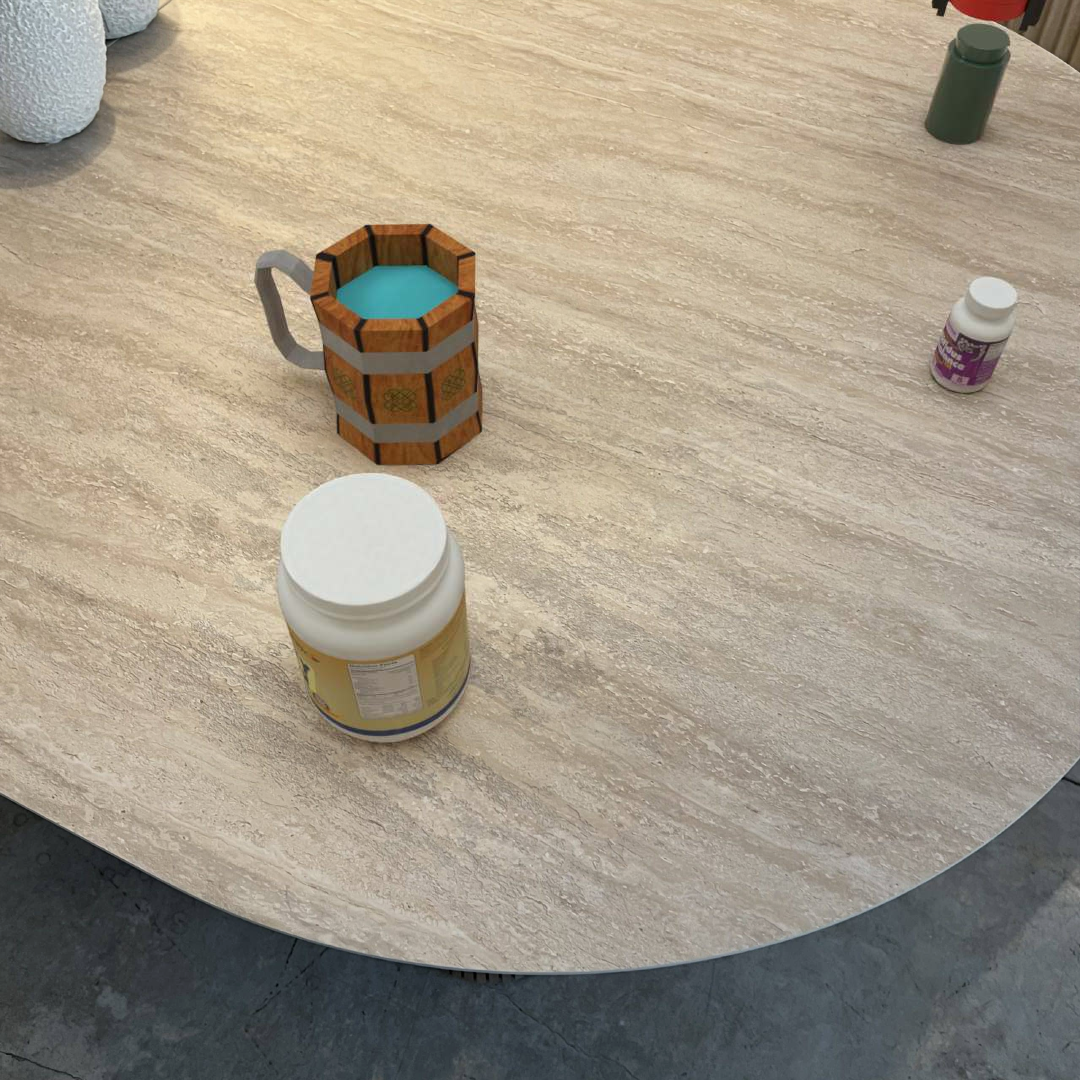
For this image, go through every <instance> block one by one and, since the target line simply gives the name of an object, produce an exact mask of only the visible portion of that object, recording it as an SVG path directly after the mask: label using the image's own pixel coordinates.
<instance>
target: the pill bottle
mask: <svg viewBox="0 0 1080 1080" xmlns="http://www.w3.org/2000/svg"><path fill="white" fill-rule="evenodd" d="M1017 301H1018V292H1017V291H1016V289H1015V287H1014V286H1013V285H1012V284H1011V283H1009V282H1007V281H1006V280H1003V279H1002V278H998V277H995V276H982V277H978V278H976V279H973V281H972V282H971V283H970V284H969V286H968V288H967V290H966V293H965V295H964V296H962V297H960V298H959V299H958V300H957V301H956V302H955V303H954V304H953V306H952V308H951V309H950V312H949V315H948V317H947V319H946V322H945V325H944V327H943V330H942V333H941V335H940V337H939V340H938V343H937V345H936V347H935V349H934V354H933V355H932V358H931V361H930V372H931V374H932V376H933V378H934V379H935V381H936V382H937V383H938V384H940V385H941V386H942V387H943V388H945V389H947V390H949V391H952V392H955V393H961V394H968V393H974V392H977V391H980V390H982V389H984V388H985V387H986V386H987V384H988V383H989V382H990V380H991V378H992V376H993V374H994V371H995V369H996V367H997V365H998V363H999V361H1000V359H1001V356H1002V354H1003V352H1004V350H1005V348H1006V345H1007V343H1008V341H1009V339H1010V338H1011V335H1012V333H1013V330H1014V327H1015V323H1016V321H1015V315H1014V309H1015V306H1016V304H1017Z"/></svg>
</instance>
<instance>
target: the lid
mask: <svg viewBox="0 0 1080 1080" xmlns="http://www.w3.org/2000/svg"><path fill="white" fill-rule="evenodd" d="M1028 1H1029V0H949V2H950V5H952V7H953V8H954V9H955V10H957V11H958V12H959V13H960V14H963V15H964V16H967V17H970V18H972V19H976V20H980V21H985V22H994V23H995V22H1008V21H1012V20H1015V19H1017V18H1019V17H1020V18H1021V17H1022V14H1023V13H1024V12H1025V9H1026V7H1027V4H1028Z"/></svg>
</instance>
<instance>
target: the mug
mask: <svg viewBox="0 0 1080 1080" xmlns="http://www.w3.org/2000/svg"><path fill="white" fill-rule="evenodd" d="M314 260H315V261H314V267H313V269H312V268H311V267H310V266H309V265H308V264H307V263H306V262H305V261H304V260H302V258H300V257H299V256H296V255H295V254H293V253H291V252H290V251H288V250H286V249H283V248H282V249H275V250H268V251H264V252H263V253H262V254H260V255H259V257H258V258H257V261H256V263H255V270H254V279H253V282H254V285H255V288H256V291H257V293H258V296H259V299H260V302H261V304H262V308H263V311H264V315H265V319H266V323H267V326H268V329H269V332H270V335H271V339H272V342H273V344H274V345H275V346H276V348H277V349H278V351H279V353H280V354H281V355H282V356H283V358H284V359H285V360H286V361H288V362H289V363H291V364H292V365H295V366H296V367H298V368H300V369H306V370H317V371H324V373H325V375H326V378H327V381H328V385H329V387H330V390H331V393H332V397H333V403H334V408H335V412H336V434H337V435H338V436H339V437H340V438H342V439H343V440H344V441H346V442H347V443H348V444H350V445H351V446H352V447H354V448H355V449H356V450H357V451H359V452H360V453H361V454H362V455H364V456H365V457H366V458H368V459H369V460H370V461H372V462H373V463H374V464H375V465H376V466H385V465H386V466H388V465H389V466H392V465H393V466H395V465H397V466H398V465H440V463H442V462H443V461H445V460H446V459H447V458H448V457H450V456H451V455H452V454H454V453H455V452H457V451H458V450H459V449H460V448H462V447H463V446H464V445H466V444H467V443H469V442H470V441H471V440H472V439H474V438H476V437H477V436H478V435H479V434H480V433H482V432H483V386H482V385H483V384H482V379H481V376H480V371H479V319H478V314H477V313H478V312H477V307H476V301H475V300H476V252H475V251H474V250H472V249H471V248H469V247H468V246H466V245H464V244H463V243H461V242H459V241H458V240H456V239H455V238H453V237H452V236H450V235H449V234H447V233H446V232H444V231H443V230H440V229H439V228H438V227H436V226H434V225H433V224H431V223H401V224H400V223H398V224H397V223H396V224H395V223H392V224H391V223H390V224H389V223H388V224H364V225H363V226H362V227H360V228H358V229H356V230H355V231H353V232H350V233H349V234H348V235H346V236H345V237H343V238H341V239H339V240H338V241H336V242H334V243H333V244H331V245H329V246H328V247H326V248H324V249H322V250H321V251H320V252H317V253H316V254H315V259H314ZM272 269H276V270H277V271H280V272H281V273H283V274H285V275H286V276H288V277H289V278H290V279H291V280H292V281H293V282H294V283H295V284H296V285H297V286H298V287H299V288H300V289H301V290H303V291H304V292H305V293H306V294H307V295H309V300H310V302H311V306H312V308H313V311H314V314H315V317H316V319H317V322H318V327H319V332H320V338H321V342H322V350H315V351H314V350H313V351H311V350H309V349H307V348H306V347H304V346H302V345H301V344H299V343H298V342H297V341H296V340H295V338H294V336H293V335H292V332H291V331H290V330H289V325H288V322H287V318H286V314H285V310H284V305H283V302H282V301H283V300H282V297H281V295H280V293H279V290H278V287H277V285H276V284H277V283H276V282H275V279H274V276H273V273H272V271H273V270H272Z"/></svg>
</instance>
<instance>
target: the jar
mask: <svg viewBox="0 0 1080 1080" xmlns="http://www.w3.org/2000/svg"><path fill="white" fill-rule="evenodd" d="M1010 46H1011V39H1010V36H1009V34H1008V33H1007V32H1006V31H1005V30H1003V29H1002V28H1001V27H998V26H995V25H992V24H987V23H969V24H966V25H964V26H962V27H960V28H959V29H958V31H957V32H956V37H955V38H953V39H952V40H951V41H950V42H949V43H948V46H947V49H946V52H945V55H944V57H943V62H942V65H941V69H940V70H939V71H940V72H939V75H938V78H937V81H936V85H935V88H934V90H933V94H932V97H931V101H930V104H929V108H928V110H927V114H926V117H925V120H924V127H925V130H926V131H927V132H928V134H930V135H931V136H932V137H933V138H935V139H937V140H939V141H941V142H944V143H948V144H953V145H969V144H973V143H976V142H977V141H979V140H980V139H981V138H982V137H983V135H984V134H985V130H986V128H987V124H988V122H989V119H990V116H991V114H992V111H993V108H994V106H995V103H996V100H997V96H998V94H999V91H1000V88H1001V85H1002V83H1003V80H1004V77H1005V74H1006V72H1007V69H1008V65H1009V63H1010V61H1011V57H1012V56H1011V51H1010V49H1009V47H1010Z"/></svg>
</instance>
